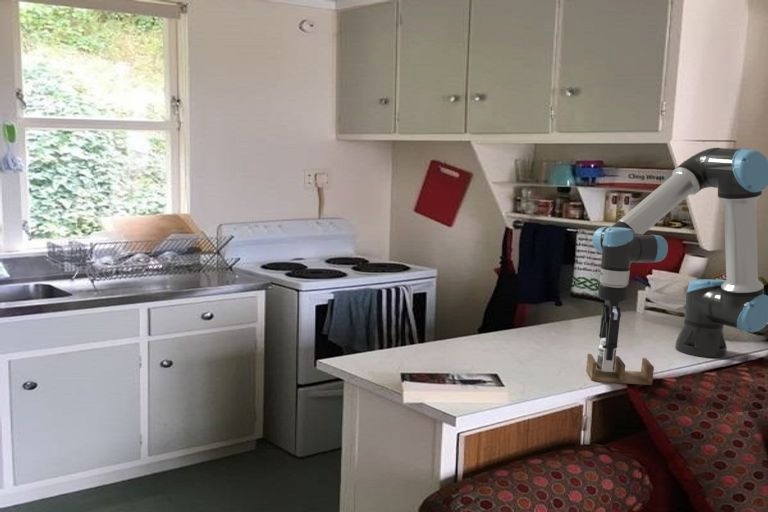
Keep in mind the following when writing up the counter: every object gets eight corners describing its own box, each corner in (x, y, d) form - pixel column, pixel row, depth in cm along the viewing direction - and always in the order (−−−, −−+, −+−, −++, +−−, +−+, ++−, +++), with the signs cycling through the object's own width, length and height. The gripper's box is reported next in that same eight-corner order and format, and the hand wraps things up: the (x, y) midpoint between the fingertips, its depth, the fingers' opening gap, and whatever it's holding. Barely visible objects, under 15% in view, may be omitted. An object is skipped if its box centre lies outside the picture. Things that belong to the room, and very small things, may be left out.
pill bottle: (611, 367, 224) (614, 337, 223) (616, 372, 220) (619, 342, 218) (594, 366, 224) (597, 336, 223) (599, 371, 219) (602, 341, 218)
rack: (644, 375, 226) (646, 358, 225) (652, 385, 217) (654, 367, 216) (586, 371, 227) (587, 353, 226) (591, 380, 218) (593, 362, 217)
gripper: (593, 278, 227) (586, 358, 231) (605, 289, 210) (597, 376, 213) (620, 280, 227) (612, 360, 230) (635, 292, 209) (626, 378, 213)
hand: (605, 368), depth 222 cm, fingers closed on pill bottle, 5 cm apart
